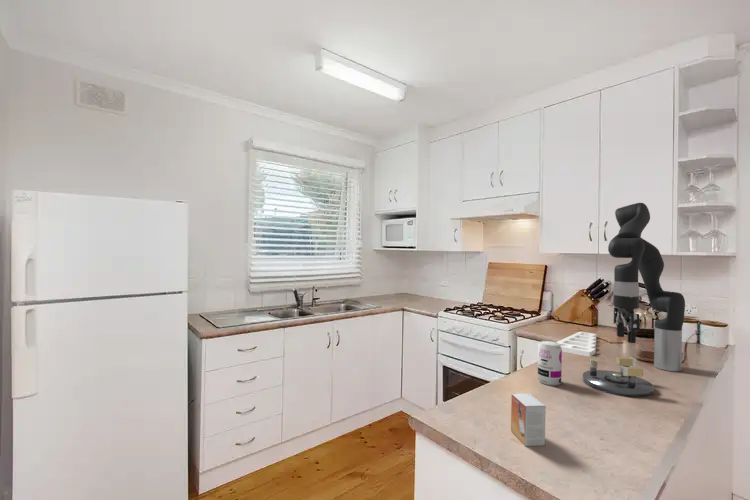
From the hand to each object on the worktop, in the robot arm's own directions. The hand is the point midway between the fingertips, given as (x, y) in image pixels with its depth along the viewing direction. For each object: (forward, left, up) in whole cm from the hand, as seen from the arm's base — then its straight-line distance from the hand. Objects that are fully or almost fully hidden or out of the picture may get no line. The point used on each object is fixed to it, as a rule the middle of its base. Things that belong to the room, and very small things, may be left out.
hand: (625, 339), depth 128 cm
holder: (-55, -43, -20) cm, 72 cm away
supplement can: (+14, -20, -19) cm, 31 cm away
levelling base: (-5, -5, -19) cm, 20 cm away
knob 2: (-2, +1, -17) cm, 17 cm away
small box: (+58, +1, -19) cm, 61 cm away
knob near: (-13, -5, -17) cm, 22 cm away
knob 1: (-2, -12, -17) cm, 20 cm away
